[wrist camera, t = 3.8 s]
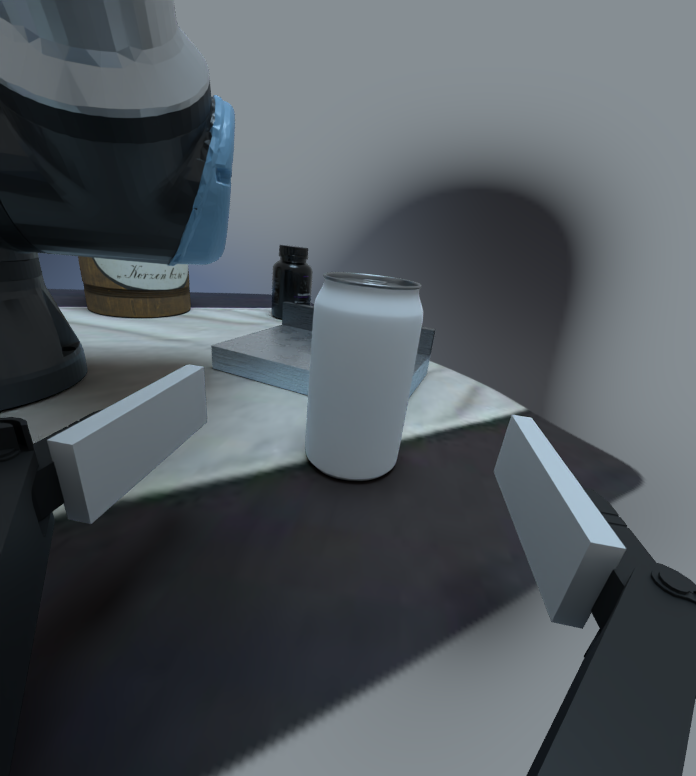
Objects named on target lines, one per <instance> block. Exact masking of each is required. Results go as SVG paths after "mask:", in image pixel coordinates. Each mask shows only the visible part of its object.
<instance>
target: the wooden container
mask: <svg viewBox="0 0 696 776" xmlns="http://www.w3.org/2000/svg"><path fill="white" fill-rule="evenodd" d="M78 258H79V265H80V270H81V276H82V281H83V282H84V291H85V297H86V302H87V307H88V309H89V310H90V311H92V312H95V313H98V314H102V315H107V316H114V317H127V318H154V317H166V316H174V315H178V314H182V313H185V312H187V311H189V310H190V308H191V306H190V290H189V271H188V264H176V265H175V266H168V265H167V264H157V263H146V262H136V261H125V260H114V259H104V258H93V257H83V256H78Z"/></svg>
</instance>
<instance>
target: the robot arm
mask: <svg viewBox="0 0 696 776" xmlns="http://www.w3.org/2000/svg"><path fill="white" fill-rule="evenodd" d="M234 129H235V114H234V109H233V107H232V106H231V105H230V104H229V103H228V102H225V101H223V100H222V99H221V97H218V96H216V95H214V96H213V97H211V90H210V78H209V69H208V66H207V63H206V61H205V59H204V57H203V55H202V54H201V53H200V51H199V50H198V49H197V48H196V46H195V45H194V44H193V43H192V42H191V40H190V39H189V38H188V37H187V36H186V34H185V33H184V32H183V31H182V30H181V28H180V27H179V26H178V23H177V21H176V14H175V7H174V0H0V410H4V409H8V408H12V407H16V406H20V405H24V404H27V403H31V402H34V401H37V400H40V399H43V398H46V397H49V396H51V395H54V394H56V393H59V392H61V391H63V390H65V389H67V388H69V387H71V386H73V385H74V384H76V383H77V382H79V381H80V380H81V379H82V378H83V377H84V376H85V375H86V373H87V364H86V359H85V354H84V350H83V347H82V344H81V343H80V341H79V339H78V338H77V336H76V335H75V333H74V331H73V330H72V328H71V327H70V325H69V323H68V322H67V320H66V319H65V317H64V315H63V314H62V312H61V311H60V309H59V307H58V306H57V304H56V303H55V301H54V299H53V298H52V296H51V295H50V293H49V291H48V290H47V288H46V286H45V283H44V280H43V276H42V271H41V267H40V262H39V258H38V253H47V254H61V255H72V256H83V257H93V258H104V259H114V260H125V261H136V262H146V263H157V264H167V265H168V266H175V265H176V264H200V265H206V264H210V263H212V262H215V261H217V260H218V259H219V258H220V257H221V256H222V254H223V252H224V249H225V243H226V237H227V228H228V218H229V206H230V193H231V176H232V163H233V151H234ZM206 423H207V408H206V392H205V375H204V367H202V366H195V365H189V364H187V365H185V366H184V367H182V368H180V369H178V370H176V371H174V372H172V373H171V374H169V375H167V376H165V377H163V378H161V379H159V380H158V381H156V382H154V383H152V384H150V385H148V386H146V387H145V388H143V389H141V390H139V391H137V392H135V393H133V394H132V395H130V396H128V397H126V398H124V399H122V400H120V401H118V402H117V403H115V404H113V405H111V406H109V407H107V408H105V409H103V410H99V411H96V412H93V413H91V414H89V415H87V416H86V417H84V418H82V419H80V421H76V422H74V423H72V424H70V425H69V427H65V428H63V429H61V430H59V431H57V432H55V433H53V434H51V435H50V436H48V437H46V438H44V439H42V440H40V441H38V442H36V443H34V444H33V442H32V439H31V435H30V432H29V428H28V425H27V421H26V420H24V419H22V418H14V417H8V418H0V776H9V773H10V767H11V762H12V756H13V751H14V745H15V740H16V734H17V728H18V723H19V717H20V712H21V706H22V701H23V695H24V690H25V684H26V679H27V673H28V668H29V662H30V656H31V651H32V645H33V640H34V634H35V629H36V623H37V618H38V612H39V607H40V601H41V596H42V590H43V584H44V579H45V573H46V568H47V562H48V557H49V551H50V546H51V540H52V535H53V529H54V524H55V520H54V516H53V511H54V510H55V509H57V508H58V507H59V506H61V505H62V504H63V503H64V506H65V510H66V514H67V518H68V519H70V520H74V521H79V522H84V523H88V524H92V523H93V522H94V521H95V520H96V519H97V518H99V517H100V516H101V515H102V514H103V513H104V512H105V511H107V510H108V509H109V508H110V507H111V506H112V505H113V504H114V503H116V502H117V501H118V500H119V499H120V498H121V497H122V496H124V495H125V494H126V493H127V492H128V491H129V490H130V489H132V488H133V487H134V486H135V485H136V484H137V483H138V482H140V481H141V480H142V479H143V478H144V477H145V476H146V475H148V474H149V473H150V472H151V471H152V470H153V469H154V468H155V467H157V466H158V465H159V464H160V463H161V462H162V461H163V460H165V459H166V458H167V457H168V456H169V455H170V454H171V453H173V452H174V451H175V450H176V449H177V448H178V447H179V446H181V445H182V444H183V443H184V442H185V441H186V440H187V439H188V438H190V437H191V436H192V435H193V434H194V433H195V432H196V431H198V430H199V429H200V428H201V427H202V426H203V425H204V424H206ZM494 473H495V476H496V479H497V481H498V484H499V486H500V489H501V492H502V494H503V497H504V500H505V502H506V505H507V507H508V510H509V513H510V515H511V518H512V520H513V523H514V526H515V528H516V531H517V533H518V536H519V539H520V541H521V544H522V546H523V549H524V552H525V554H526V557H527V559H528V562H529V565H530V567H531V570H532V573H533V575H534V578H535V580H536V583H537V586H538V588H539V591H540V593H541V596H542V599H543V601H544V604H545V606H546V609H547V612H548V614H549V617H550V619H551V622H554V623H559V624H563V625H568V626H573V627H578V628H582V629H583V627H584V625H585V623H586V622H587V620H588V618H589V616H590V614H591V613H592V614H593V616H594V618H595V620H596V622H597V624H598V626H599V628H600V629H599V631H598V632H597V634H596V636H595V638H594V640H593V641H592V643H591V644H590V646H589V648H588V650H587V651H586V653H585V655H584V657H585V658H584V660H583V662H582V664H581V666H580V668H579V670H578V672H577V674H576V676H575V678H574V680H573V682H572V684H571V686H570V688H569V690H568V693H567V695H566V697H565V699H564V701H563V703H562V705H561V707H560V709H559V711H558V713H557V715H556V717H555V719H554V721H553V723H552V725H551V727H550V729H549V731H548V733H547V735H546V737H545V739H544V741H543V743H542V745H541V747H540V750H539V751H538V754H537V755H536V757H535V759H534V762H533V764H532V766H531V768H530V770H529V772H528V774H527V776H682V772H683V766H684V761H685V755H686V750H687V744H688V737H689V733H690V727H691V721H692V715H693V709H694V704H695V698H696V585H695V584H694V583H693V582H692V581H691V580H690V579H688V578H687V577H685V576H683V575H682V574H680V573H679V572H678V571H676V570H673V569H671V568H669V567H667V566H665V565H663V564H659V563H656V562H655V560H654V559H653V558H652V557H651V555H650V554H649V553H648V552H647V550H646V549H645V548H644V547H643V545H642V544H641V543H640V542H639V540H638V539H637V538H636V536H635V535H634V534H633V533H632V531H631V530H630V529H629V528H627V525H626V524H625V522H624V521H623V520H622V519H621V518H620V517H619V516H618V514H617V512H616V511H615V510H614V508H613V507H612V506H611V505H610V503H609V502H608V501H606V500H605V499H604V498H603V497H601V496H600V495H599V494H598V493H596V492H595V491H594V490H590V489H584V488H582V487H581V485H580V484H579V483H578V481H577V480H576V479H575V477H574V476H573V474H572V473H571V472H570V470H569V469H568V468H567V466H566V465H565V463H564V462H563V461H562V459H561V458H560V456H559V455H558V454H557V452H556V451H555V450H554V448H553V447H552V445H551V444H550V443H549V441H548V440H547V439H546V437H545V436H544V434H543V433H542V432H541V430H540V429H539V427H538V426H537V425H536V423H535V422H534V421H533V419H532V418H530V417H523V416H517V415H511V419H510V422H509V425H508V428H507V431H506V434H505V437H504V441H503V444H502V447H501V450H500V453H499V456H498V460H497V463H496V466H495V469H494Z"/></svg>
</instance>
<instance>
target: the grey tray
mask: <svg viewBox="0 0 696 776" xmlns="http://www.w3.org/2000/svg"><path fill="white" fill-rule="evenodd" d="M313 314H314V306H309V305H304V304H298V303H293V302H288V301H287V302H283V316H282V325H280V326H276V327H273V328H269V329H266V330H262V331H259V332H256V333H252V334H249V335H245V336H242V337H238V338H235V339H232V340H228V341H225V342H221V343H218V344H214V345H211V349H212V368H214V369H217V370H221V371H224V372H228V373H231V374H235V375H238V376H242V377H245V378H249V379H252V380H256V381H259V382H263V383H266V384H270V385H273V386H277V387H280V388H284V389H287V390H291V391H294V392H298V393H301V394H305V395H308V389H309V373H310V358H311V343H312V328H313ZM435 330H436V329H432V328H427V327H421V333H420V339H419V344H418V350H417V355H416V361H415V366H414V372H413V377H412V383H411V388H410V393H409V397H410V396H411V395H412V393H413V392H414V391H415V389H416V388H417V386H418V385H419V384H420V382H421V381H422V380H423V378H424V377H425V376H426V374H427V370H428V365H429V360H430V355H431V350H432V345H433V340H434V335H435Z"/></svg>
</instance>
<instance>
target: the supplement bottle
mask: <svg viewBox="0 0 696 776" xmlns="http://www.w3.org/2000/svg"><path fill="white" fill-rule="evenodd" d="M279 256H280V261H278V262H276V263H275V264H274V266H273V278H272V315H273V316H274V317H276V318H279V319H282V316H283V302H287V301H288V302H293V303H298V304H304V305H309V306H310V301H311V286H312V269H311V267H310V266H309V265H308V264H307V263H306V259H308V248H304V247H296V246H287V245H280V249H279Z"/></svg>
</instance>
